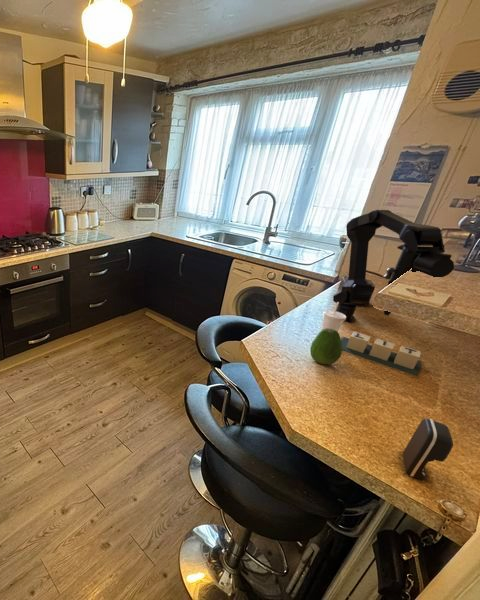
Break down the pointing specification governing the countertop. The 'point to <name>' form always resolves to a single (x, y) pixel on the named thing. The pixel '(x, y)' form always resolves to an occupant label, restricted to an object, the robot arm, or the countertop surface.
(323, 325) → the smoothie
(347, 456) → the countertop surface
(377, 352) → the tile
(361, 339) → the tile
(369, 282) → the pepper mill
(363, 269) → the robot arm
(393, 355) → the word mat
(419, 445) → the battery charger
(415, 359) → the tile
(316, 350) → the avocado
